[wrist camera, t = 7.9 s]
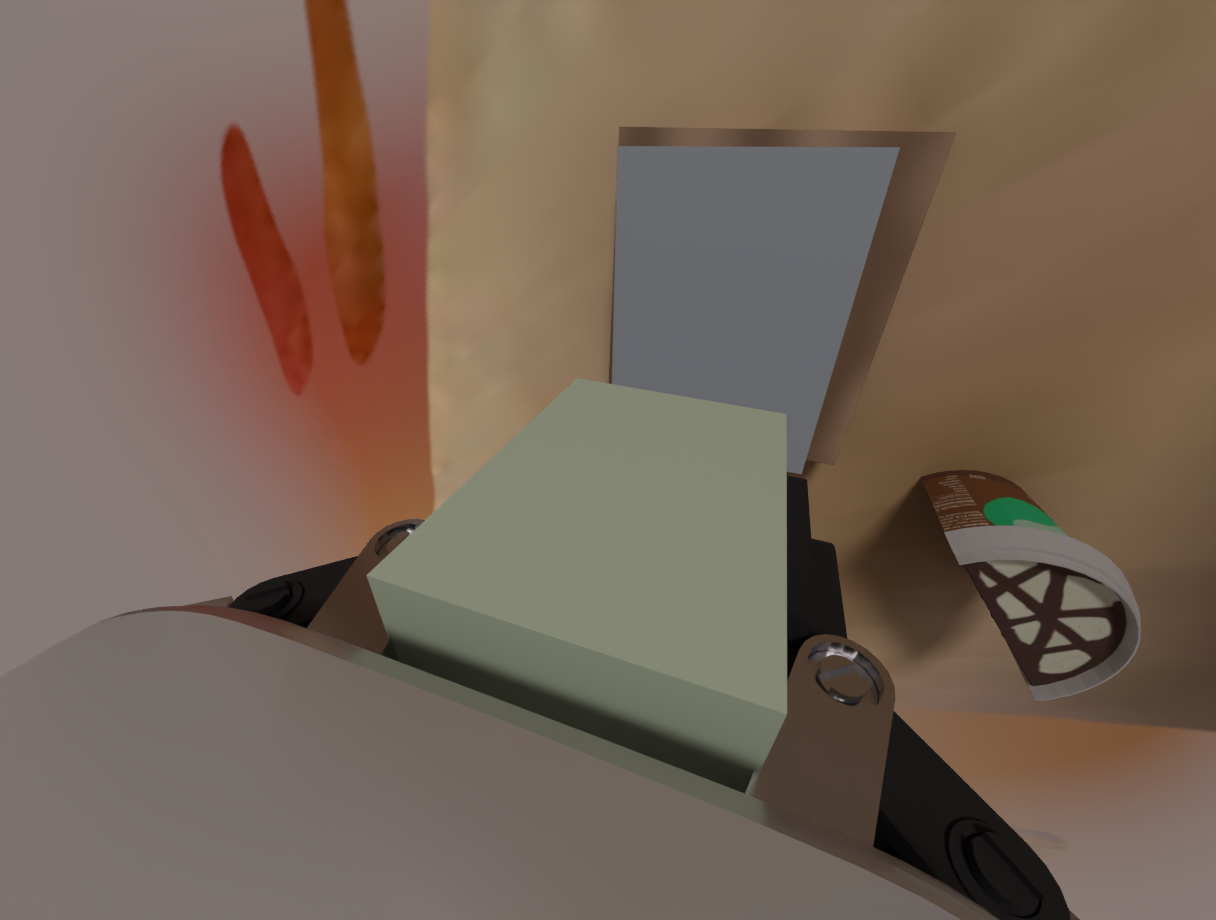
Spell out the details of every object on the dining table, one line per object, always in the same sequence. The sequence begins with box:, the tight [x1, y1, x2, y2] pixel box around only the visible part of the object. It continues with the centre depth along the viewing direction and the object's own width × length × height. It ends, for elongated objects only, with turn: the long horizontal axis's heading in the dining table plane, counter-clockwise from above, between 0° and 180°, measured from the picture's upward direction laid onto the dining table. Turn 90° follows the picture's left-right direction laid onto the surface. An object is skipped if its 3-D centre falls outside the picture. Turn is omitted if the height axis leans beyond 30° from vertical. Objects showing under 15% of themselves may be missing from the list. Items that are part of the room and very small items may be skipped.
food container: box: [921, 470, 1141, 701], centre depth 27 cm, size 12×6×10 cm, turn 38°
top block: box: [612, 146, 900, 474], centre depth 26 cm, size 12×16×4 cm
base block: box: [609, 127, 956, 465], centre depth 29 cm, size 16×18×4 cm
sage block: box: [366, 378, 787, 793], centre depth 9 cm, size 5×5×7 cm
